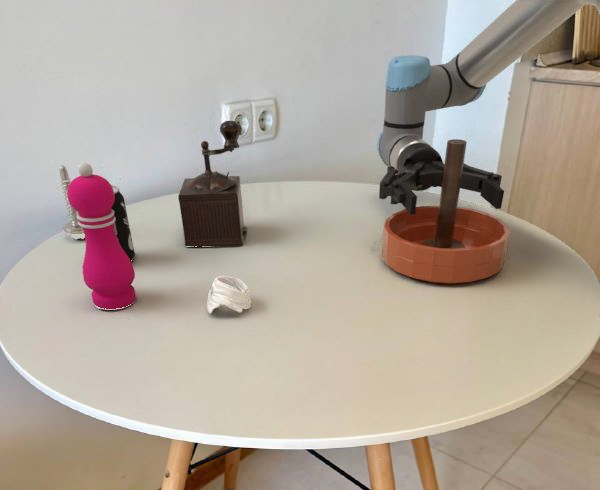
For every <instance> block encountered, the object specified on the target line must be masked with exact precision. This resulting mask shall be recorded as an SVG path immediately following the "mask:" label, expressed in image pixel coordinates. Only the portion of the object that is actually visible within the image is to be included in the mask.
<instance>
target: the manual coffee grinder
mask: <svg viewBox="0 0 600 490" xmlns="http://www.w3.org/2000/svg"><path fill="white" fill-rule="evenodd" d="M242 131H243V128H242V125H241V123H239V122H238V121H235V120H225V121H223V122H222V123H221V124H220V126H219V132H220V134H221V136H222V137H223V139H224V145H223V148H218V149H209V142H208V141H207V140H203V141H201V143H200V147H201V155H202V156H203V160H204V161H203V162H204V168H205V169H204V170H205V171H204V172H203V173H201V174H198V175H197V176H195V177H191V178H184V180H183V182H182V186H181V188H180V190H179V193H178V203H179V210H180V217H181V223H182V230H183V238H184V247H185V246H194V247H195V246H197V247H202V246H215V247H214V248H218V247H217V246H230V247H240V246H239V245H242V246H243V245H244V243H245V242H244V241H245V238H246V235H247V234H248V228H247V227H246V225H245V223H244V209H243V208H244V207H243V198H242V197H243V196H242V187H241V177H240V175H229V174H230V172H229V171H227V174H224V173H221V172H218V171H213V170H212V169H211V168H212V167H211V161H210V157H211V156H217V155H222V154H225V153H227V152H230V153H232V152H233V151H234V150H236V149H239V148H240V145H239V142H238V139H239V138H240V136H241V134H242Z"/></svg>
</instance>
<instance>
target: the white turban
mask: <svg viewBox="0 0 600 490" xmlns="http://www.w3.org/2000/svg"><path fill="white" fill-rule="evenodd" d="M211 287H212V288H211V289H210V290H209V291H208V294H207V302H206V309H207V312H208V314H210V315H213V313H214V310H216V308H220V307H225V308H229V309H231V310H233V311H235V312H237V313H240V314H241V313H242V312H243V310H249V309H250V308H251V307H252V299H251V296H252V292H251V290H250V289H249V286H248V285H247V284H246V283H245V282H244V281H242V280H241V279H239V278H238V277H234V276H229V275H218V276H216V277H215V278H214V279H213V283H212V284H211Z"/></svg>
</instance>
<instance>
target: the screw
mask: <svg viewBox="0 0 600 490" xmlns="http://www.w3.org/2000/svg"><path fill="white" fill-rule="evenodd" d="M58 170H59V175H60V180H61V181H60V183H61V185H60V186H61V187H62V188H61V189H62V190H63V191H62V193H63V197H64V200H65V203H66V205H65V206H66V207H67V209H66V210H68V212H67V213H68V216H69V220H70V222H67V223H66V224H64V226H63V228H62V229H63V231H64V232H65V233H68V234H70V235H71V234H82V233H84V231H83V228H82V227H81V226H79V224H78V219H77V217H76V216H77V214H78V212H77V211H76V210H75V209H73V207H72V206H71V205H70V203H69V200H68V195H67V193H68V186H69V184H70V183H71V181H72V180H71V178H70V176H69V172H68V170H67V167H66V165H64V164H61V165H59V169H58Z"/></svg>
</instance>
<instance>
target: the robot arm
mask: <svg viewBox="0 0 600 490" xmlns="http://www.w3.org/2000/svg"><path fill="white" fill-rule="evenodd" d="M585 6H595V8H596V10H597V12H598V14H599V15H600V0H514V2H512V3H511V4H510V5H509V6H508V7H507V8H506V9H505V10H504V11H503V12H502V13H500V14H499V16H498V17H496V18H495V19H494V20H493V21H491V22H490V23H489V24H488V25H487V26H486V27H485V28H484V29H483V30H482V31H480V32H479V34H478V35H476V37H474V39H472V40H471V41H470V42H469V43H468V44H467V45H466V46H465V47H464V48H463V49H461V51H460V52H458V53H457V54H456V55H454V57H453V58H452V59H450V61H448V62H445V63H441V64H432V65H431V60H430V58H429V57H427V56H425V55H416V54H415V55H413V54H411V55H397V56H394V57H392V58H391V59H390V60H389V61H388V64H387V65H388V66H387V72H386V80H385V100H384V102H385V103H384V120H383V126H382V127H383V128H382V131H381V133H380V134H379V136H378V138H377V142H376V147H377V153H378V155H379V156H380V159H381V161H382V162H383V164H384V165H385V166H386V167H387V169H386V174H385V175H384V176H383V177H382V179H381V180H380V182H379V189H378V190H379V192H378V199H380V200H386V199H387V198H388V197H390V205H398V204H401V205H402V206H403V207H404V208H405V209H406V210H407V211H408V212H409V213H410V215H412V214H415V213H416V207H417V201H418V195H416V194H415V192H423V191H426V190H429V189H431V188H437V187H438V188H442V180H443V172H444V164H445V162H444V161H443V158H442V156H441V154H440V153H439V152H438V151H437V150H436V149H435V148H434V147H432V146H431V145H430V144H429V143H428V142H427V141H425V140H424V139H423V136H424V127H425V120H426V112H431V111H436V110H441V109H448V108H454V107H462V106H466V105H468V104H470V103H473V102H475V101H478V99H480V98H481V97H482V95H483V93H484V91H485V89H486V88H487V84H488V83H489V82H491V81H493V79H495V78H497V76H498V75H500V74H501V73H502V72H504V71H505V70H506V69H507V68H508V67H510V66H511V65H512V64H513V63H514V62H516V61H517V60H518V59H519V58H521V57H522V56H523V55H524V54H526V53H527V52H528V51H529V50H531V49H533V47H535V46H536V45H537V44H539V43H540V42H541V41H542V40H543V39H545V38H546V37H547V36H548V35H550V34H551V33H552V32H554V31H555V30H556V29H557V28H558V27H559V26H561V25H562V24H564V22H566V21H567V20H568V19H570V18H571V17H573V15H574V14H576V13H577V12H578V11H580V10H581V9H582V8H583V7H585ZM502 178H503V176H502V175H501V174H497V173H495V172H493V171H491V172H490V171H487V170H484V169H482V168H481V169H480V168H478V167H474V166H470V165H468V164H467V163H465V162H464V164H463V171H462V178H461V185H460V190H461V189H462V190H466V191H471V192H475V193H480V197H481V198H483V200H485V201H486V202H487V203H488V204H490V205H491V206H492V207H494V208H495V210H501V209H502V205H503V200H504V194H505V190H504V189H502V187H501V184H502Z"/></svg>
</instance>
